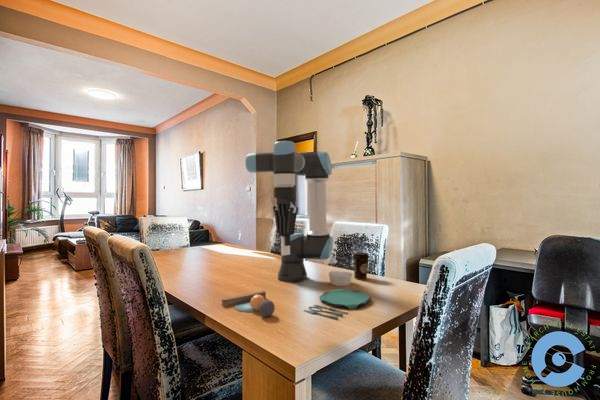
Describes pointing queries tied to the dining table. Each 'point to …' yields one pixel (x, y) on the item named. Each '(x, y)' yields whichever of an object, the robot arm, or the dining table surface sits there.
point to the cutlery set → (340, 301)
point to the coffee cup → (360, 265)
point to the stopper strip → (241, 298)
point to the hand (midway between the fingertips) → (285, 254)
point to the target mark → (245, 307)
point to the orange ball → (256, 301)
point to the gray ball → (266, 308)
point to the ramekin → (340, 278)
